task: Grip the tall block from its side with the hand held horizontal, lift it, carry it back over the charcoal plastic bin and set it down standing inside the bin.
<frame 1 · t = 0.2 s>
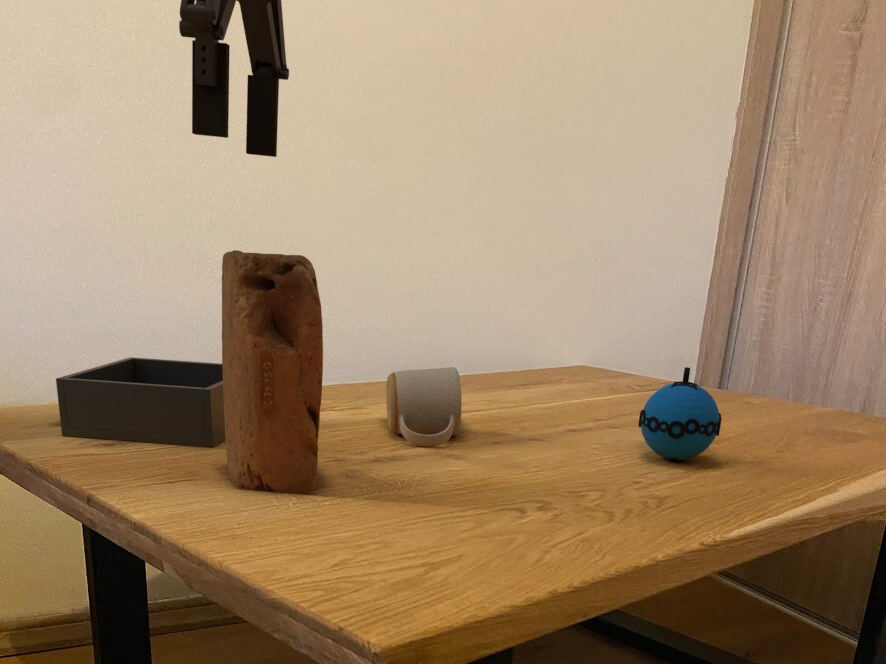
hand: (237, 146, 80), 28 cm above the table, tool pointing down, fingers open, 13 cm apart
ceramic mug: (426, 438, 107), on the table
ornament: (674, 461, 102), on the table
block: (275, 490, 84), on the table
bin: (170, 425, 106), on the table
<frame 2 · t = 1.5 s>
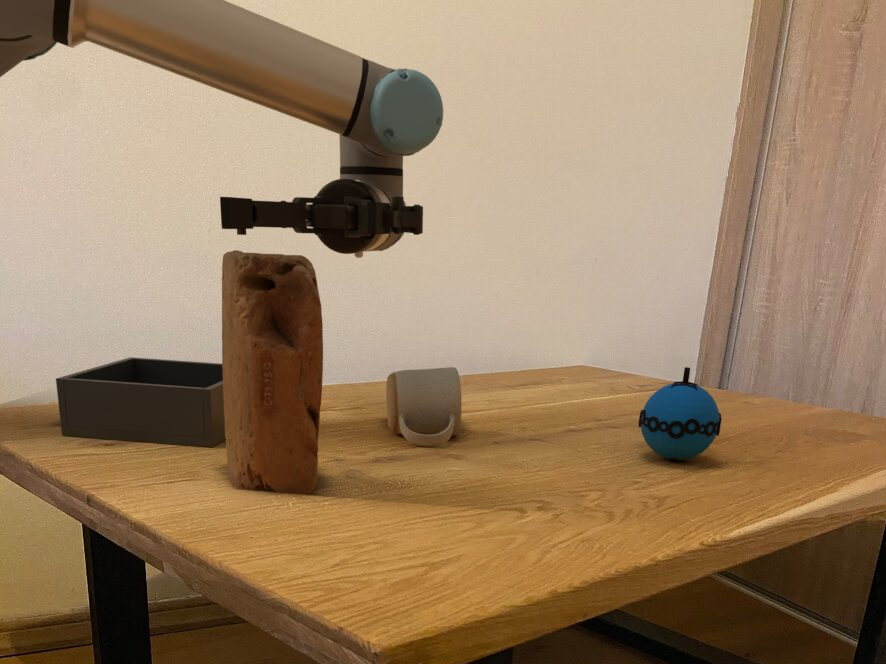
hand: (297, 215, 83), 23 cm above the table, tool horizontal, fingers open, 13 cm apart
nothing on the table moved.
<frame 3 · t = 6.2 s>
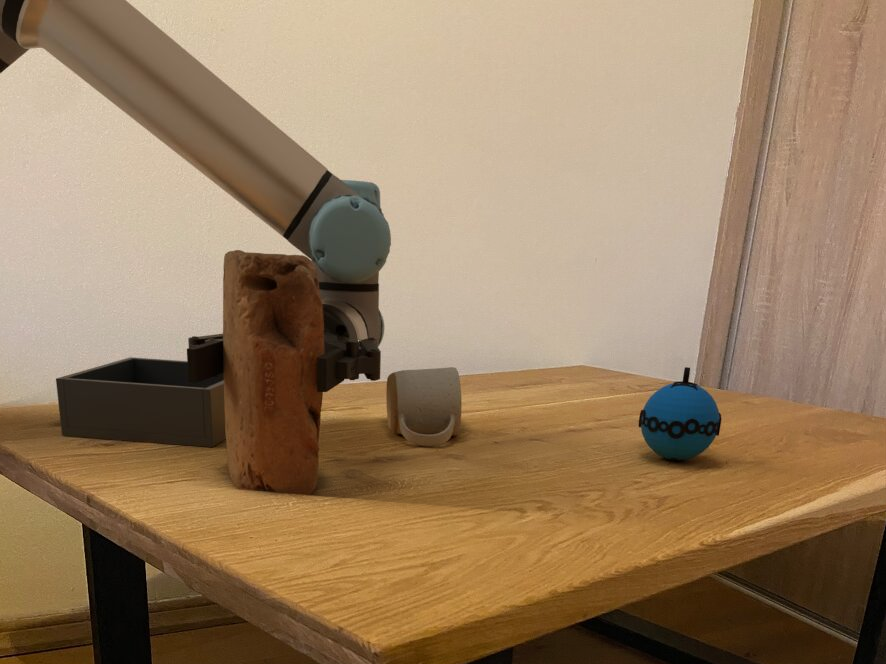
hand: (256, 370, 76), 11 cm above the table, tool horizontal, fingers closed on block, 10 cm apart
block: (275, 489, 84), on the table, touching gripper
everything else where it was.
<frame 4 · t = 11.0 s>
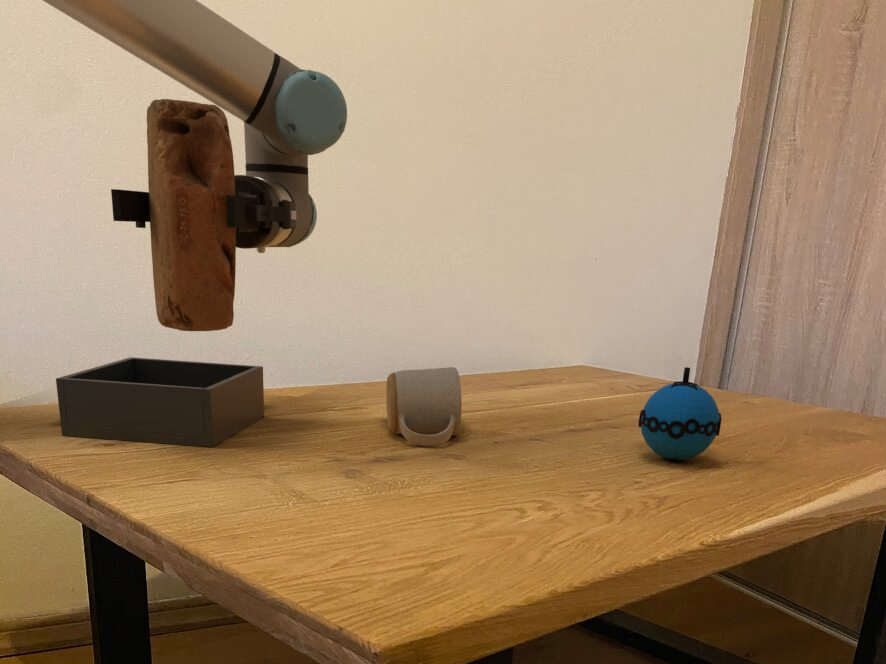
hand: (173, 208, 85), 23 cm above the table, tool horizontal, fingers closed on block, 10 cm apart
block: (198, 330, 93), point 12 cm above the table, touching gripper
everything else where it was.
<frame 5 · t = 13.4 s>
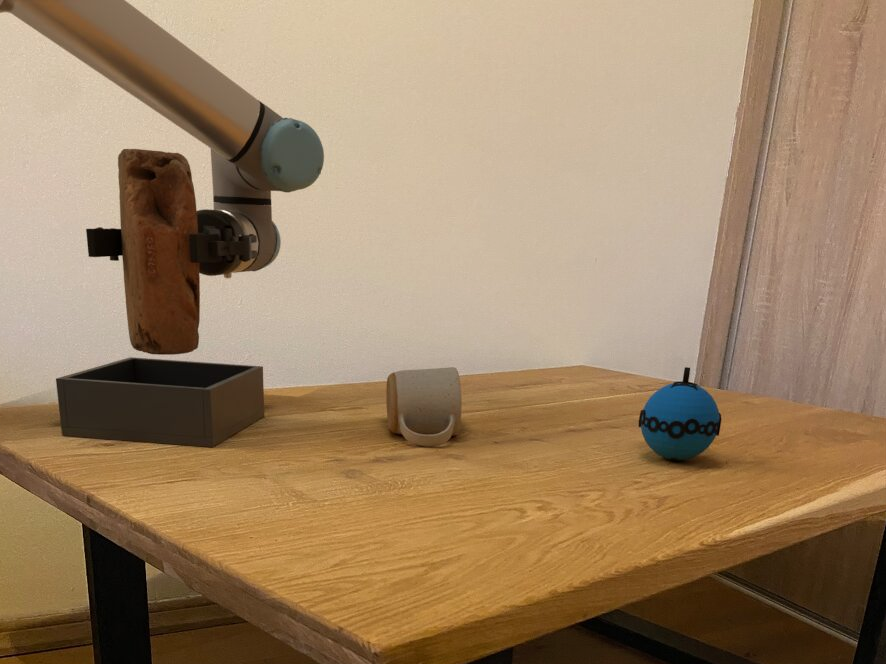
hand: (141, 245, 95), 19 cm above the table, tool horizontal, fingers closed on block, 10 cm apart
block: (166, 352, 103), point 8 cm above the table, touching gripper
everything else where it was.
when the fingers open (12 cm above the table, at t = 15.9 s): block stays where it is, resting on bin.
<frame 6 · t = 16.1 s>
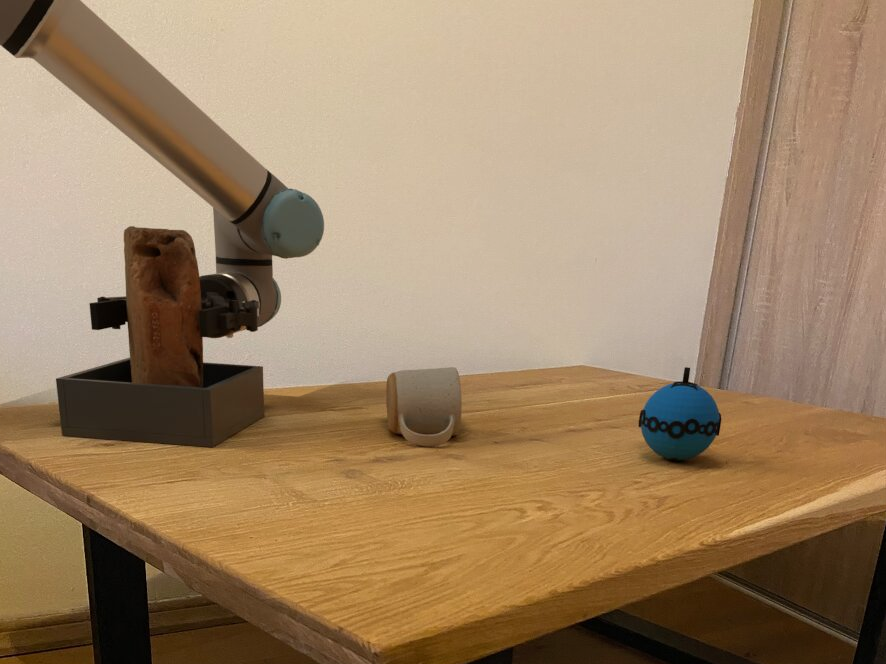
hand: (148, 320, 98), 12 cm above the table, tool horizontal, fingers open, 11 cm apart
block: (171, 418, 105), point 1 cm above the table, touching bin
everything else where it was.
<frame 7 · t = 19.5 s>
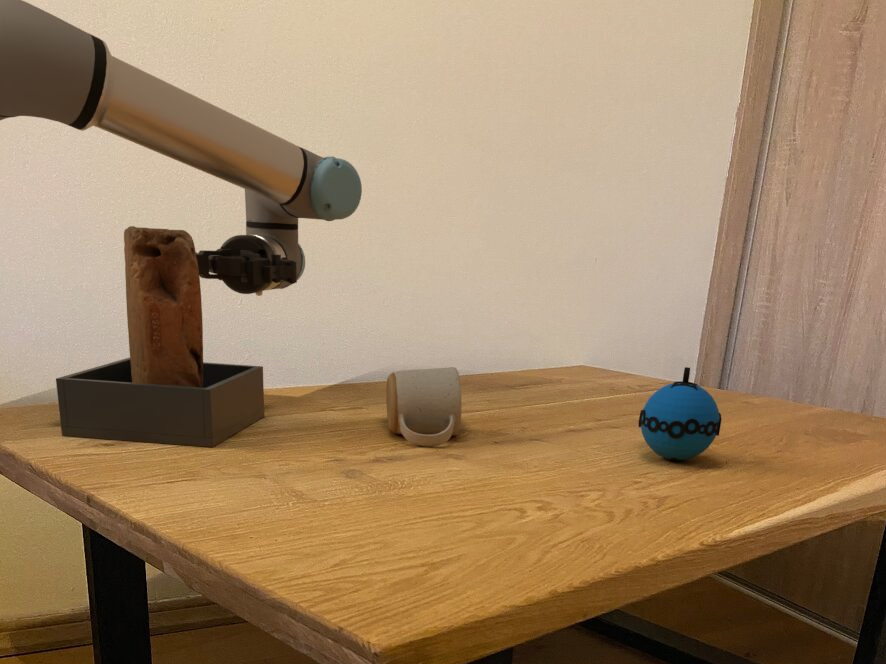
hand: (193, 269, 108), 16 cm above the table, tool horizontal, fingers open, 13 cm apart
nothing on the table moved.
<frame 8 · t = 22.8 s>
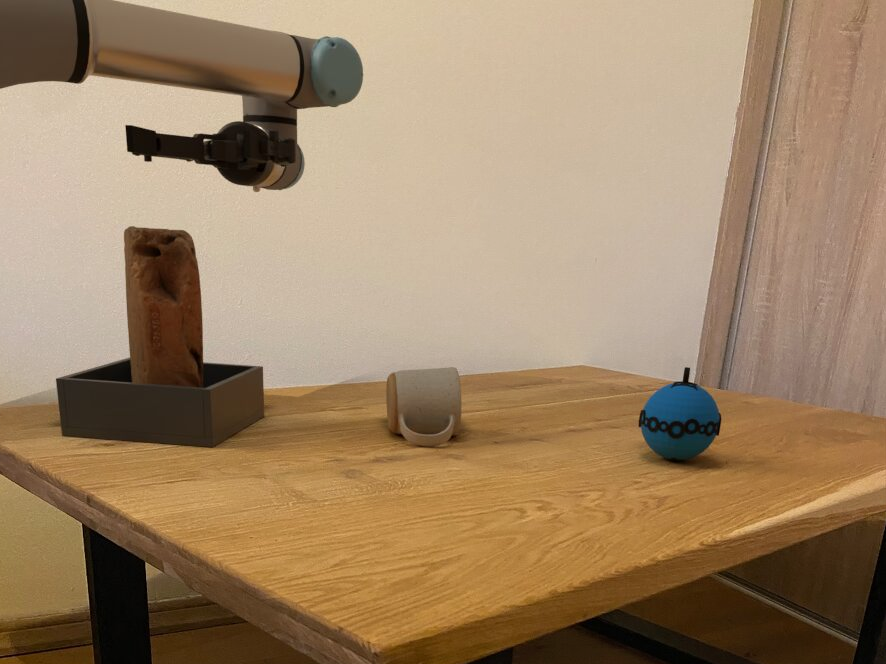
hand: (187, 141, 103), 30 cm above the table, tool horizontal, fingers open, 13 cm apart
nothing on the table moved.
at the end: block inside the target area in the bin (0.2 cm from its centre), point 0.8 cm above the bin's base; block tilted 0°; the gripper is holding nothing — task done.
